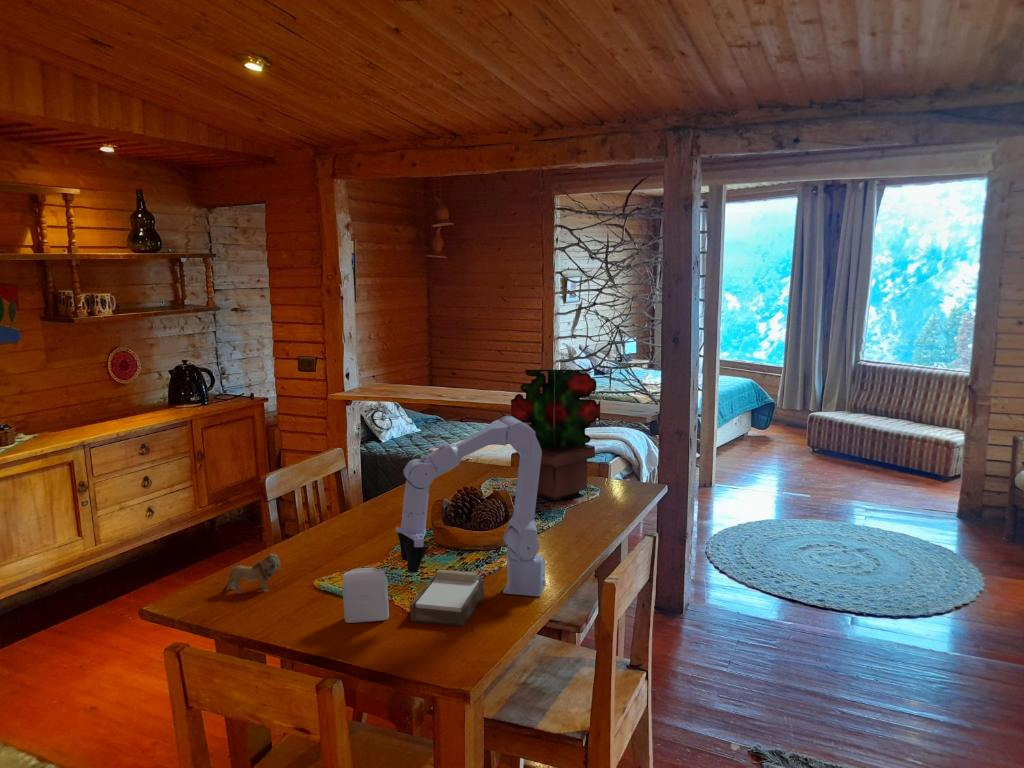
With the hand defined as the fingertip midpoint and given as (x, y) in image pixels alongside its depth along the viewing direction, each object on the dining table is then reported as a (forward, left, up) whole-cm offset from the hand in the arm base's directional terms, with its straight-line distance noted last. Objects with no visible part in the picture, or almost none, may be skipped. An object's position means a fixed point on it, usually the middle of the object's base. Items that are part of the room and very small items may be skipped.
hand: (409, 565), depth 173 cm
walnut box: (-9, -2, -11) cm, 14 cm away
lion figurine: (+44, -2, -11) cm, 45 cm away
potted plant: (-19, -94, -11) cm, 96 cm away
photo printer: (+8, +7, -11) cm, 16 cm away
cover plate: (-9, -2, -8) cm, 12 cm away
